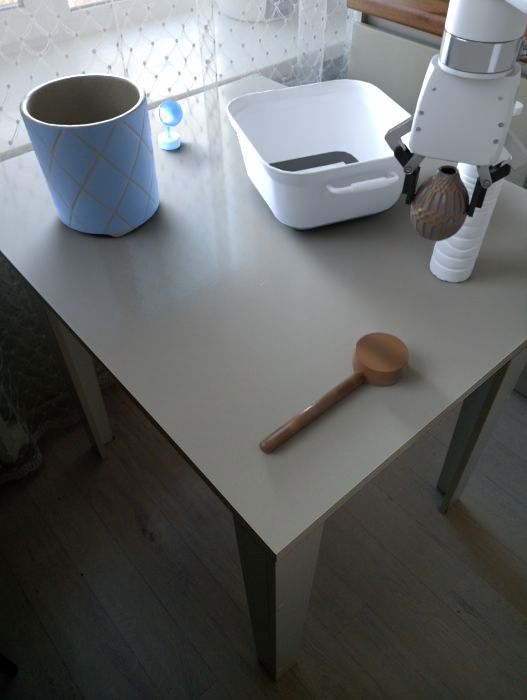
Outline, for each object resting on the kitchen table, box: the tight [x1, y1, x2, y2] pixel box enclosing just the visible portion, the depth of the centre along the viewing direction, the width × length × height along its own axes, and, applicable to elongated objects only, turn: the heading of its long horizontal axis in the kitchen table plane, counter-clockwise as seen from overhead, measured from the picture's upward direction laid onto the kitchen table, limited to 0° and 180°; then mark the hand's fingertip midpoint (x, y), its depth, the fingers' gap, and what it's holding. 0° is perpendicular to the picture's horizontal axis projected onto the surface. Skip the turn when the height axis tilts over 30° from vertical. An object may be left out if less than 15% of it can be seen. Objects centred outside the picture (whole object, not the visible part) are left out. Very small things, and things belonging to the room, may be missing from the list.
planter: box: [18, 73, 160, 238], centre depth 92 cm, size 19×19×20 cm
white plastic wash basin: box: [225, 78, 412, 231], centre depth 96 cm, size 34×29×15 cm
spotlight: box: [154, 98, 184, 151], centre depth 112 cm, size 5×10×7 cm
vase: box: [409, 164, 469, 242], centre depth 68 cm, size 7×7×9 cm
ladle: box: [259, 331, 410, 454], centre depth 70 cm, size 24×7×3 cm, turn 131°
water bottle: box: [429, 100, 524, 283], centre depth 79 cm, size 9×6×25 cm
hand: (440, 204), depth 68 cm, fingers closed on vase, 6 cm apart
